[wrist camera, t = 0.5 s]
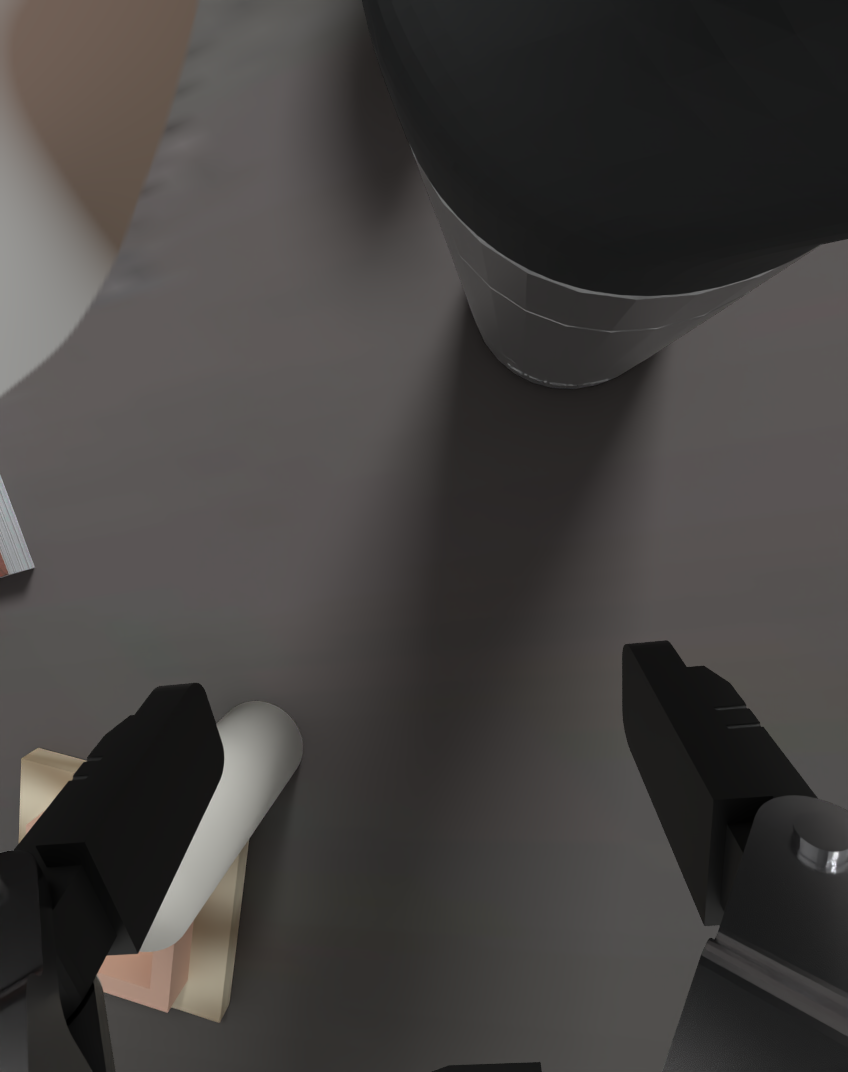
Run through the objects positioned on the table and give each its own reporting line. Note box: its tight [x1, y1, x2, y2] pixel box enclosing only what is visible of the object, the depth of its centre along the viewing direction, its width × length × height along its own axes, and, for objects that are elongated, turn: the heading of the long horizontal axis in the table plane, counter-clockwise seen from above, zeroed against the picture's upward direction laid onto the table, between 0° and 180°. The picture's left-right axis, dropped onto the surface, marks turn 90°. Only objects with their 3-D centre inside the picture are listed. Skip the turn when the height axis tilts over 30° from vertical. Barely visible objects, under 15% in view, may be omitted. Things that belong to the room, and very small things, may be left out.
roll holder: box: [19, 748, 249, 1023], centre depth 34 cm, size 14×14×3 cm
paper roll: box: [139, 701, 303, 952], centre depth 27 cm, size 5×5×11 cm
